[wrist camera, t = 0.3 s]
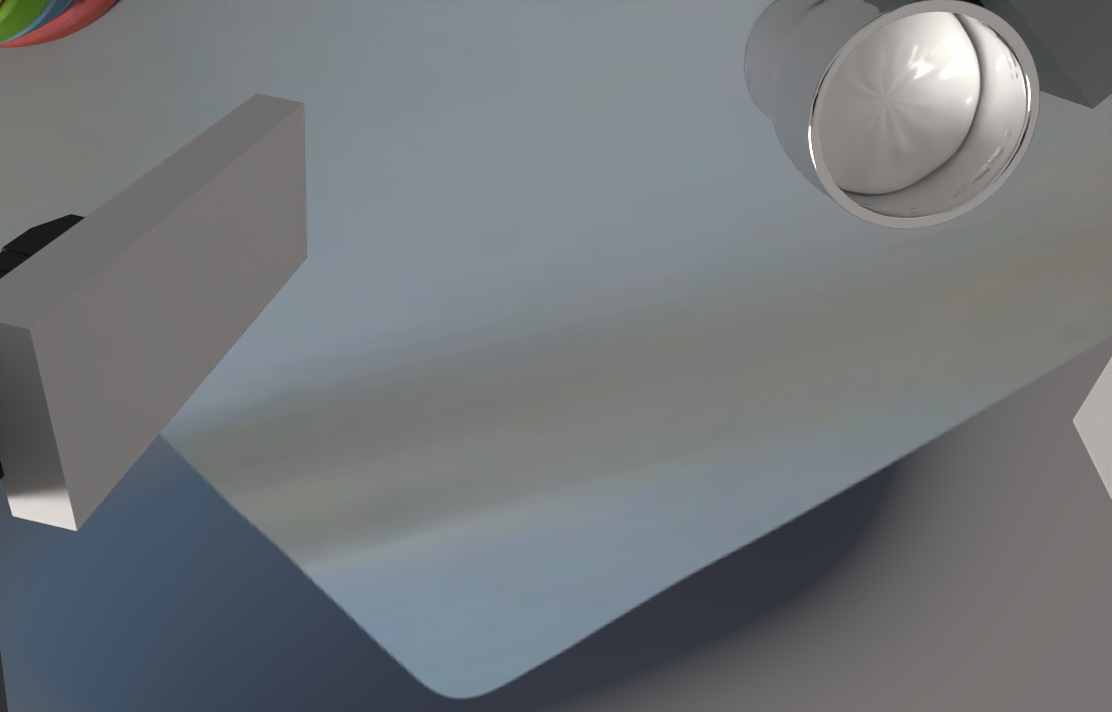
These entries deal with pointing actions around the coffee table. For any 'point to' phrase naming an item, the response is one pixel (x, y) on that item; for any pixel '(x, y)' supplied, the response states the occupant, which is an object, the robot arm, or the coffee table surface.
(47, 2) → the stacking bear
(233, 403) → the coffee table surface
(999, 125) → the beer glass
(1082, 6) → the grey block with hole
